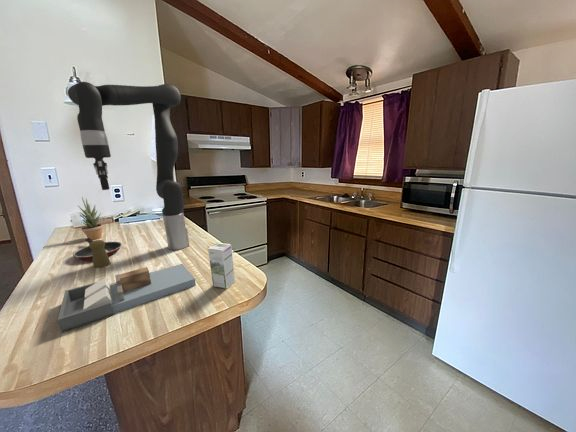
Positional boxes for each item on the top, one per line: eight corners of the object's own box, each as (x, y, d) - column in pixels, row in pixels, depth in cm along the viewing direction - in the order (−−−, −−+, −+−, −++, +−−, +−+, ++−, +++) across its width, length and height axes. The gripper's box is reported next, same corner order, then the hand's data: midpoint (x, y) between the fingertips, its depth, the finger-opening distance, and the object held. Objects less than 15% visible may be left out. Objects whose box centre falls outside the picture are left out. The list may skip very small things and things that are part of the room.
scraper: (147, 274, 88) (144, 261, 87) (154, 290, 77) (151, 276, 76) (117, 283, 83) (113, 269, 81) (119, 301, 72) (116, 286, 70)
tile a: (112, 293, 76) (105, 287, 74) (113, 302, 71) (106, 295, 70) (91, 306, 73) (84, 300, 72) (90, 316, 68) (83, 309, 67)
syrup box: (235, 281, 86) (232, 243, 83) (226, 289, 81) (222, 249, 77) (222, 278, 88) (217, 241, 84) (212, 287, 83) (207, 248, 79)
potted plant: (91, 236, 143) (81, 195, 136) (108, 235, 144) (99, 194, 137) (79, 242, 133) (67, 198, 127) (97, 240, 134) (87, 197, 128)
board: (183, 269, 97) (182, 263, 96) (195, 285, 84) (194, 278, 84) (110, 290, 83) (108, 284, 82) (112, 313, 70) (110, 306, 70)
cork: (101, 268, 100) (95, 243, 97) (89, 267, 101) (83, 243, 98) (114, 262, 105) (108, 238, 102) (103, 261, 106) (97, 238, 104)
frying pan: (79, 267, 102) (77, 259, 101) (65, 250, 122) (63, 243, 121) (129, 252, 116) (127, 245, 115) (109, 239, 136) (107, 233, 135)
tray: (110, 289, 83) (107, 279, 82) (112, 315, 70) (109, 303, 68) (68, 301, 77) (65, 290, 76) (62, 332, 63) (57, 319, 62)
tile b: (111, 283, 82) (105, 277, 80) (111, 291, 77) (105, 284, 76) (91, 295, 79) (85, 289, 78) (91, 304, 74) (84, 297, 73)
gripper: (109, 143, 84) (118, 189, 88) (107, 145, 95) (116, 186, 99) (81, 143, 79) (92, 191, 83) (83, 145, 90) (93, 188, 94)
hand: (105, 188), depth 91 cm, fingers open, 8 cm apart
